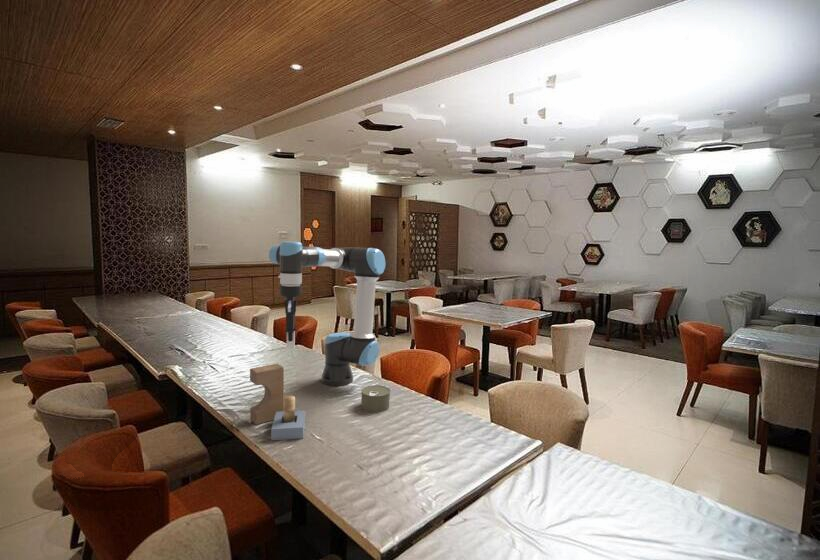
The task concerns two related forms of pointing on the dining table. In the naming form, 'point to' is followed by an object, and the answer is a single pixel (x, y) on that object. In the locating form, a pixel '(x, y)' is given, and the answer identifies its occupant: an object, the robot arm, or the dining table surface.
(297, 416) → the board
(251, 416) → the decorative block
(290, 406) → the peg
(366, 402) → the can
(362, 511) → the dining table surface
